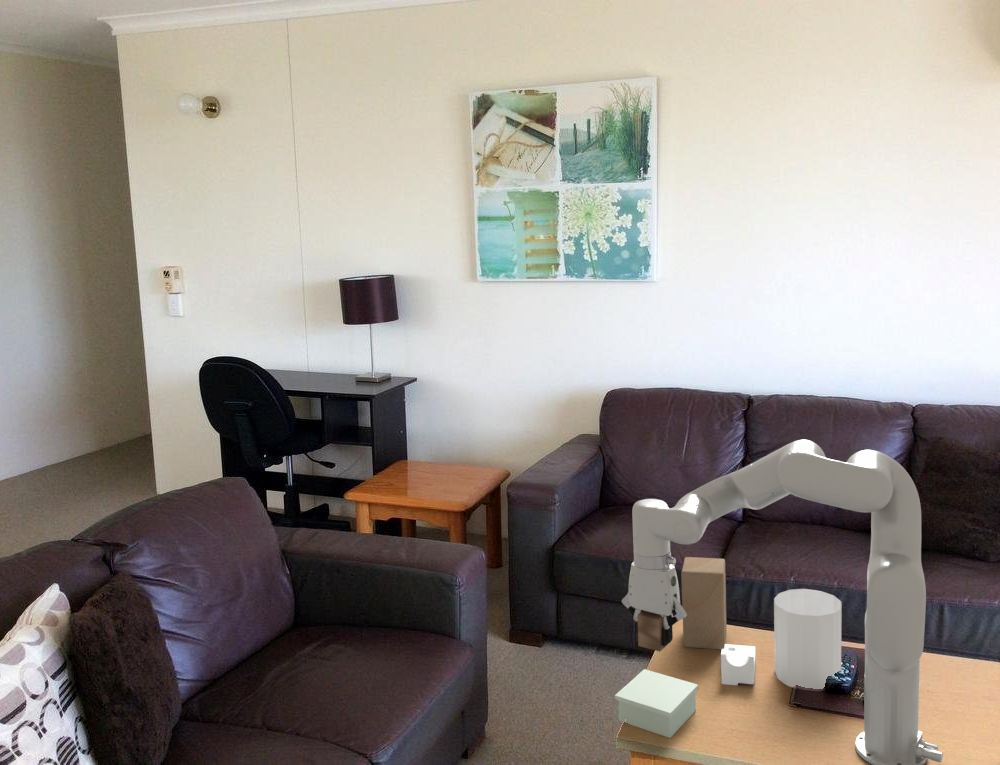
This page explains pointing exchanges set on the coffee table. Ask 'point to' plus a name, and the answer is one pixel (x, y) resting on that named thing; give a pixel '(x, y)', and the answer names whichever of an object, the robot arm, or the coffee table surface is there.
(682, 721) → the sage box
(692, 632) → the wooden block
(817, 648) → the container
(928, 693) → the coffee table surface
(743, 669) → the bracket
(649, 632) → the walnut block
